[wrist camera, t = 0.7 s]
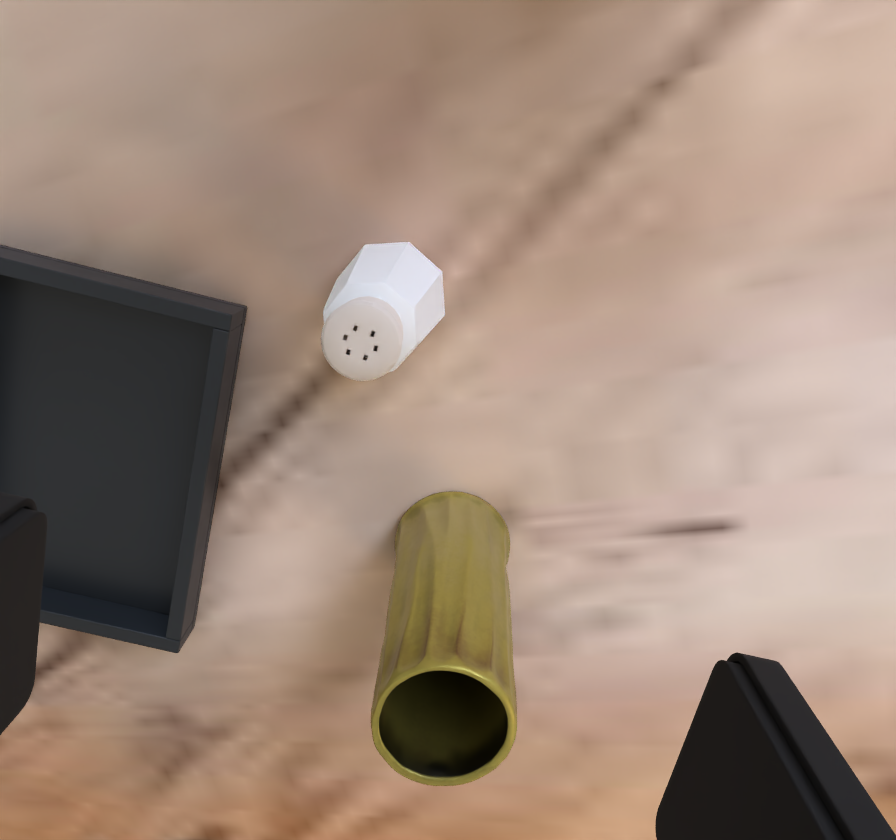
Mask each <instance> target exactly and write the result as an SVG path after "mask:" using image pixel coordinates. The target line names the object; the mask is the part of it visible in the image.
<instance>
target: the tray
mask: <svg viewBox="0 0 896 840" xmlns="http://www.w3.org/2000/svg"><path fill="white" fill-rule="evenodd" d="M246 312H247V306H244V305H240V304H236V303H232V302H228V301H224V300H220V299H216V298H212V297H208V296H204V295H200V294H196V293H192V292H188V291H184V290H180V289H176V288H172V287H168V286H164V285H160V284H156V283H152V282H148V281H144V280H140V279H136V278H132V277H128V276H123V275H119V274H115V273H111V272H107V271H103V270H99V269H95V268H91V267H87V266H83V265H79V264H75V263H71V262H67V261H63V260H59V259H55V258H51V257H47V256H43V255H39V254H35V253H31V252H27V251H23V250H19V249H15V248H11V247H7V246H3V245H0V492H3V493H7V494H12V495H16V496H21V497H26V498H30V499H32V500H33V501H34V502H35V503H36V507H37V511H39V512H43V513H44V514H45V515H46V517H47V536H46V548H45V560H44V572H43V584H42V596H41V609H40V621H39V622H41V623H45V624H50V625H54V626H59V627H63V628H67V629H72V630H76V631H81V632H85V633H90V634H94V635H98V636H103V637H107V638H112V639H116V640H121V641H125V642H129V643H134V644H138V645H143V646H147V647H152V648H156V649H160V650H165V651H169V652H174V653H178V652H179V651H180V649H181V648H182V646H183V644H184V643H185V641H186V639H187V638H188V636H189V635H190V633H191V631H192V630H193V628H194V626H195V620H196V614H197V608H198V602H199V596H200V590H201V584H202V578H203V571H204V565H205V559H206V553H207V547H208V541H209V535H210V529H211V523H212V517H213V511H214V505H215V499H216V493H217V487H218V481H219V475H220V469H221V463H222V457H223V451H224V445H225V439H226V433H227V427H228V421H229V415H230V409H231V403H232V397H233V390H234V384H235V378H236V372H237V366H238V360H239V354H240V348H241V342H242V336H243V330H244V324H245V318H246Z"/></svg>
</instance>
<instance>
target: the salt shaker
mask: <svg viewBox="0 0 896 840" xmlns="http://www.w3.org/2000/svg"><path fill="white" fill-rule="evenodd" d="M444 316H445V306H444V291H443V275H442V271H441V270H440V269H439V268H438V267H437V266H436V265H434V264H433V263H432V262H431V261H430V260H429V259H428V258H427V257H425V256H424V255H423V254H422V253H421V252H420V251H419V250H418V249H417V248H415V247H414V246H413V245H412V244H411V243H410V242H397V243H381V244H365V245H364V246H363V248H362V249H361V250H360V251H359V252H358V254H357V255H356V256H355V257H354V258H353V260H352V261H351V262H350V263H349V264H348V266H347V267H346V268H345V269H344V271H343V272H342V273H341V274H340V275H339V277H338V278H337V280H336V282H335V284H334V287H333V289H332V291H331V294H330V296H329V298H328V300H327V303H326V305H325V307H324V311H323V319H324V326H323V328H322V334H321V345H322V350H323V353H324V356H325V358H326V360H327V361H328V363H329V364H330V365H331V367H332V368H333V369H334V370H336V371H337V372H338V373H339V374H340V375H343V376H345V377H347V378H349V379H352V380H357V381H371V380H374V379H377V378H380V377H382V376H383V375H385V374H386V373H388V372H393V371H394V370H396V369H397V368H398V367H399V366H400V365H401V363H402V362H403V361H404V360H405V359H406V358H407V357H408V356H409V355H410V354H411V353H412V352H413V351H414V349H415V348H416V347H417V346H418V345H419V344H420V343H421V342H422V341H423V339H424V338H425V337H426V336H427V335H428V334H429V333H430V332H431V330H432V329H433V328H434V327H435V326H436V325H437V324H438V322H439V321H440V320H441V319H442V318H443V317H444Z"/></svg>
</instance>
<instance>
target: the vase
mask: <svg viewBox="0 0 896 840" xmlns="http://www.w3.org/2000/svg"><path fill="white" fill-rule="evenodd" d="M509 550H510V539H509V532H508V529H507V526H506V524H505V522H504V520H503V519H502V517H501V516H500V514H499V513H498V512H497V511H496V510H495V509H494V508H493V507H492V506H491V505H490V504H489V503H487V502H486V501H484V500H483V499H481V498H479V497H477V496H474V495H471V494H467V493H463V492H441V493H437V494H433V495H430V496H427V497H425V498H423V499H421V500H420V501H418V502H417V503H415V504H414V505H413V506H412V507H411V508H410V509H409V510H408V511H407V512H406V513H405V514H404V516H403V517H402V518H401V520H400V522H399V525H398V528H397V532H396V537H395V553H396V561H395V570H394V576H393V581H392V586H391V591H390V598H389V605H388V613H387V620H386V628H385V637H384V642H383V646H382V650H381V656H380V662H379V668H378V674H377V680H376V685H375V691H374V698H373V704H372V709H371V728H372V735H373V741H374V744H375V747H376V749H377V750H378V752H379V753H380V755H381V756H382V757H383V758H384V759H385V761H386V762H387V763H388V764H389V765H390V766H391V767H392V768H393V769H394V770H395V771H396V772H397V773H399V774H401V775H402V776H404V777H406V778H408V779H410V780H413V781H416V782H418V783H422V784H426V785H433V786H455V785H461V784H465V783H469V782H472V781H474V780H477V779H479V778H481V777H483V776H485V775H486V774H488V773H489V772H491V771H492V770H494V769H495V768H497V766H498V765H499V764H500V763H501V762H502V761H503V760H504V759H505V758H506V757H507V755H508V753H509V751H510V750H511V748H512V745H513V743H514V740H515V737H516V731H517V704H516V690H515V680H514V669H513V646H512V627H511V608H510V591H509V581H508V576H507V570H506V564H507V562H508V557H509Z"/></svg>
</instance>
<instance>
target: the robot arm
mask: <svg viewBox="0 0 896 840" xmlns="http://www.w3.org/2000/svg"><path fill="white" fill-rule="evenodd" d="M46 536H47V517H46V515H45V514H44V513H43V512H39V511H37V507H36V503H35V502H34V501H33V500H32V499H30V498H26V497H21V496H16V495H12V494H7V493H3V492H0V735H1V734H2V732H3V731H4V730H5V729H6V728H7V727H8V725H9V724H10V723H11V722H12V721H13V720H14V718H15V717H16V716H17V715H18V714H19V713H20V711H21V710H22V709H23V707H24V706H25V704H26V703H27V701H28V699H29V697H30V694H31V692H32V689H33V685H34V680H35V670H36V657H37V645H38V633H39V621H40V609H41V596H42V584H43V572H44V560H45V548H46ZM656 837H657V840H896V835H895V833H894V832H893V830H892V829H891V827H890V826H889V824H888V823H887V821H886V820H885V818H884V817H883V815H882V814H881V813H880V811H879V810H878V808H877V807H876V805H875V804H874V802H873V801H872V799H871V798H870V796H869V795H868V793H867V792H866V790H865V789H864V787H863V786H862V784H861V783H860V781H859V780H858V778H857V777H856V775H855V774H854V772H853V771H852V769H851V768H850V766H849V765H848V763H847V762H846V760H845V759H844V757H843V756H842V754H841V753H840V751H839V750H838V749H837V747H836V746H835V744H834V743H833V741H832V740H831V738H830V737H829V735H828V734H827V732H826V731H825V729H824V728H823V726H822V725H821V723H820V722H819V720H818V719H817V717H816V716H815V714H814V713H813V711H812V710H811V708H810V707H809V705H808V704H807V702H806V701H805V699H804V698H803V696H802V695H801V693H800V692H799V690H798V689H797V687H796V686H795V685H794V683H793V682H792V680H791V679H790V677H789V676H788V674H787V673H786V671H785V670H784V668H783V667H782V666H781V665H780V663H779V662H777V661H773V660H769V659H764V658H759V657H755V656H750V655H746V654H741V653H734V654H732V655H731V656H730V657H729V658H728V660H727V661H724V660H720V661H718V662H717V663H716V664H715V666H714V668H713V670H712V673H711V675H710V678H709V680H708V683H707V685H706V688H705V690H704V693H703V696H702V698H701V701H700V703H699V706H698V708H697V711H696V713H695V716H694V719H693V721H692V724H691V726H690V729H689V731H688V734H687V736H686V739H685V742H684V744H683V747H682V749H681V752H680V754H679V757H678V759H677V762H676V764H675V767H674V770H673V772H672V775H671V777H670V780H669V782H668V785H667V787H666V790H665V793H664V795H663V798H662V800H661V803H660V805H659V808H658V811H657V816H656Z"/></svg>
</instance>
